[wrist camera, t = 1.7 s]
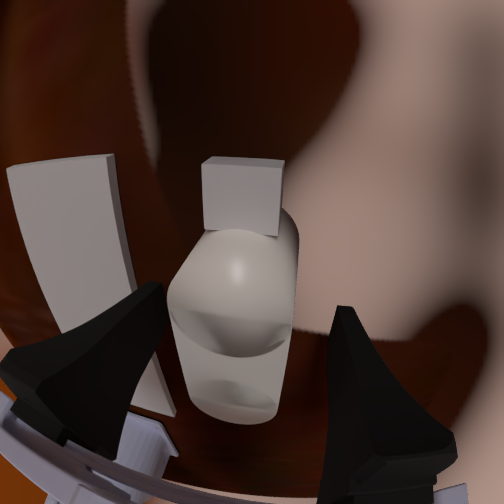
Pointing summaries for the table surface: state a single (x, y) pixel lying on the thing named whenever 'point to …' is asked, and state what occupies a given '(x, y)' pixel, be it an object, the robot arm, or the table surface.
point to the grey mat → (81, 248)
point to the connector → (237, 292)
